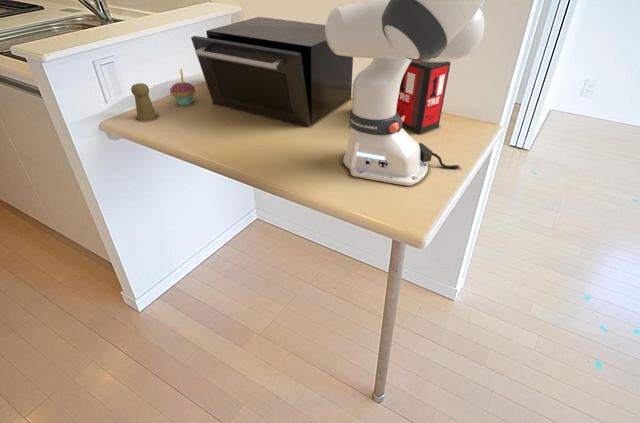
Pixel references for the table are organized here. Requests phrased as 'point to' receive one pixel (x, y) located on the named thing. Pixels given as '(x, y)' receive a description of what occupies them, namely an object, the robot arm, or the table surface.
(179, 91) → the cupcake
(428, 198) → the table surface
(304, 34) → the oven
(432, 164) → the table surface
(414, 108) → the cleaning product box
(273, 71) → the oven door
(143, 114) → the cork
